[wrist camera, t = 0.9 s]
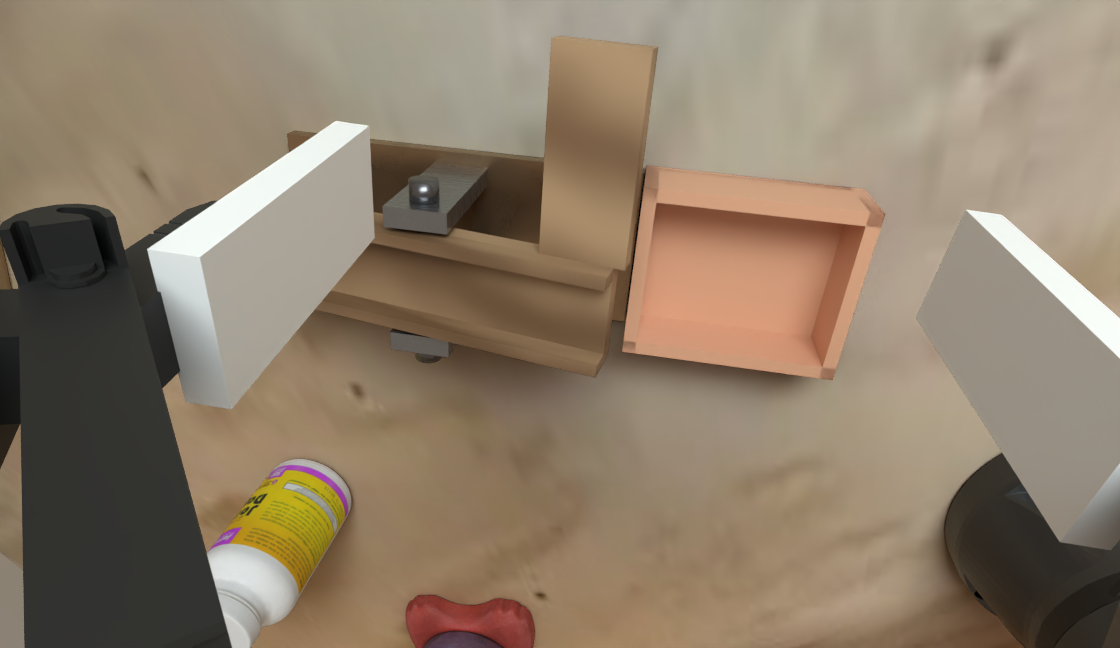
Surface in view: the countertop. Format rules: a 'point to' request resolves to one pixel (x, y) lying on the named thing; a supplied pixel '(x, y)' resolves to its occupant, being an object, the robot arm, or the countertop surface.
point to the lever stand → (459, 205)
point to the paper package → (3, 271)
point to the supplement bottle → (276, 545)
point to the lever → (565, 232)
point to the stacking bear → (469, 624)
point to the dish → (748, 270)
